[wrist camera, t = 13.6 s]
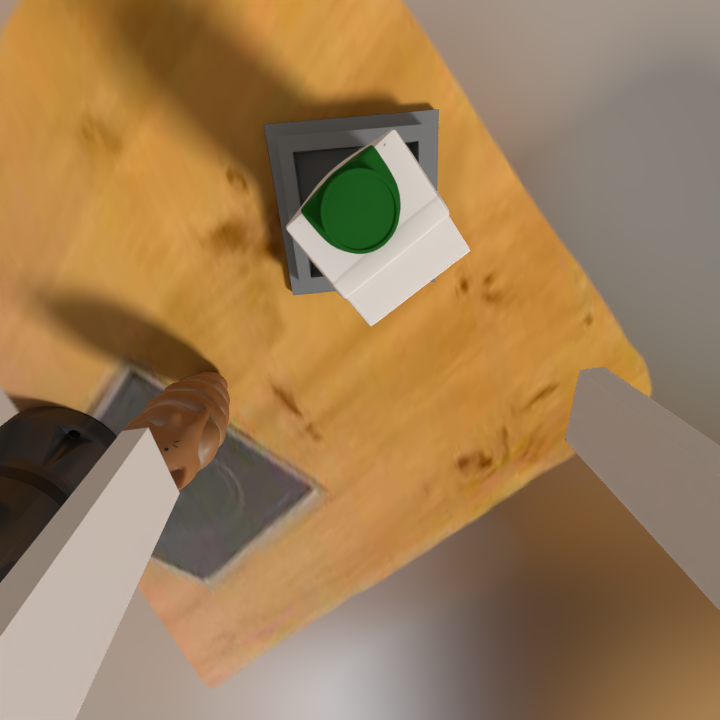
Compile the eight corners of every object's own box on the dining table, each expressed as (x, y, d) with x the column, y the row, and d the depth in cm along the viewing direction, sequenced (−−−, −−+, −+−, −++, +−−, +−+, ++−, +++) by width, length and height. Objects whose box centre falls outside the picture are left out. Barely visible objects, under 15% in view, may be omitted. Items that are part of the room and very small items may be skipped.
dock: (293, 292, 41) (290, 303, 37) (265, 125, 33) (257, 119, 30) (432, 279, 41) (442, 289, 37) (435, 111, 33) (448, 103, 30)
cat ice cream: (246, 352, 44) (197, 455, 28) (249, 405, 47) (206, 523, 31) (170, 348, 43) (74, 452, 27) (179, 402, 46) (99, 523, 30)
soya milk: (366, 139, 33) (404, 99, 16) (420, 219, 37) (501, 261, 19) (297, 203, 35) (262, 233, 18) (354, 273, 39) (373, 356, 21)
